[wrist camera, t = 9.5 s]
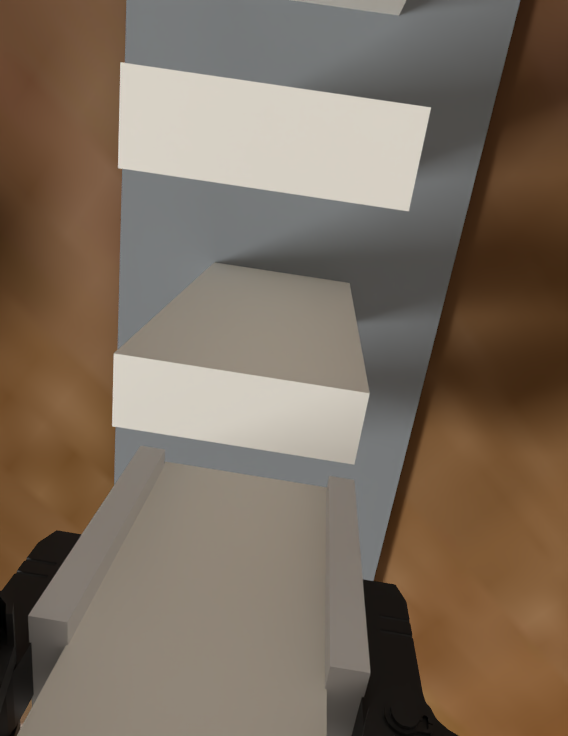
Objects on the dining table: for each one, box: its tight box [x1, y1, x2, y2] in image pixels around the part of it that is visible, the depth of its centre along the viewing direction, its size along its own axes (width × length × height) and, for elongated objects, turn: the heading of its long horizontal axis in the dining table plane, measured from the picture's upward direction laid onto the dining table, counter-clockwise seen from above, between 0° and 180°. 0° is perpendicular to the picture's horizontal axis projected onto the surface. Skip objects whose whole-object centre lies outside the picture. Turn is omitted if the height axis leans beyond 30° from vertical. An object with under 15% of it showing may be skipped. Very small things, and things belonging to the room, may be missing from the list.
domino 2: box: [112, 262, 370, 465], centre depth 15 cm, size 2×5×10 cm, turn 82°
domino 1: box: [118, 62, 431, 211], centre depth 14 cm, size 2×5×10 cm, turn 82°
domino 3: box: [17, 462, 327, 736], centre depth 12 cm, size 2×5×10 cm, turn 82°
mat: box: [114, 0, 520, 581], centre depth 19 cm, size 34×12×1 cm, turn 172°
